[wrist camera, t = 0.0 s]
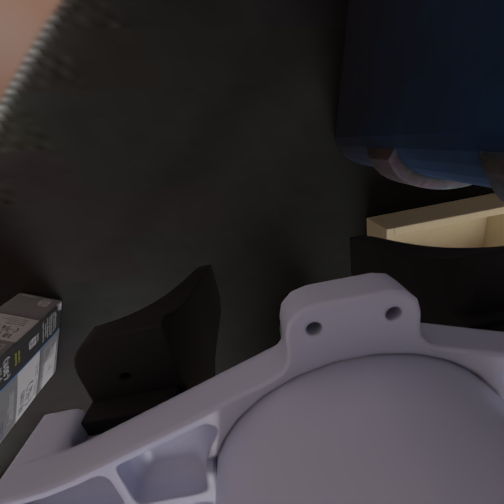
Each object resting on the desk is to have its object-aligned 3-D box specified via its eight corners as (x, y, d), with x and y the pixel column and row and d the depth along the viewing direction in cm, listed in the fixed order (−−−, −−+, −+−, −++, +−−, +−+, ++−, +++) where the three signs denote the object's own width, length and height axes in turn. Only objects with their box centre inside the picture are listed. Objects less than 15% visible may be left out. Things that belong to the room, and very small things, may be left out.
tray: (466, 368, 32) (491, 393, 28) (370, 386, 32) (385, 413, 28) (493, 193, 24) (533, 200, 21) (366, 217, 24) (386, 229, 21)
